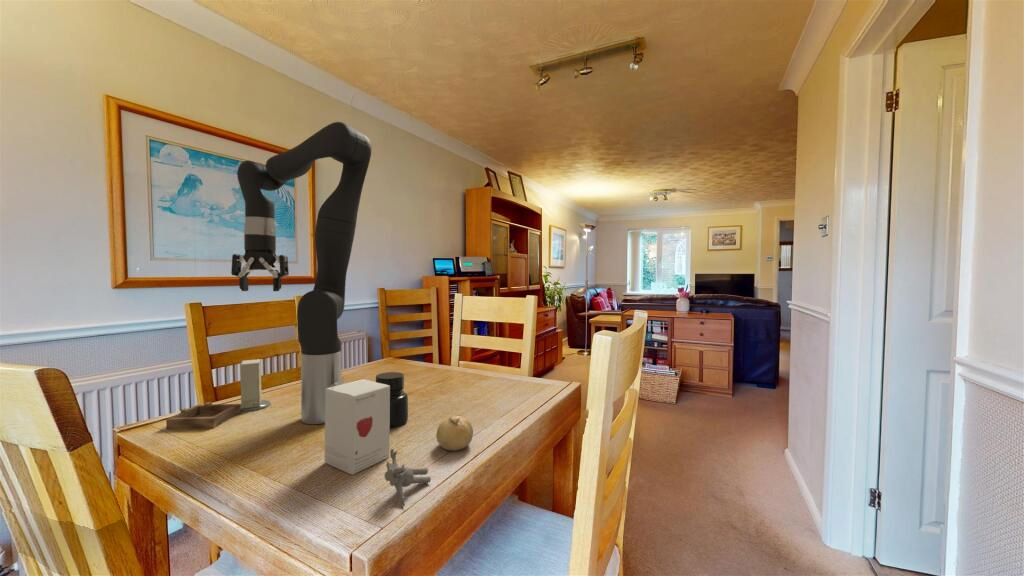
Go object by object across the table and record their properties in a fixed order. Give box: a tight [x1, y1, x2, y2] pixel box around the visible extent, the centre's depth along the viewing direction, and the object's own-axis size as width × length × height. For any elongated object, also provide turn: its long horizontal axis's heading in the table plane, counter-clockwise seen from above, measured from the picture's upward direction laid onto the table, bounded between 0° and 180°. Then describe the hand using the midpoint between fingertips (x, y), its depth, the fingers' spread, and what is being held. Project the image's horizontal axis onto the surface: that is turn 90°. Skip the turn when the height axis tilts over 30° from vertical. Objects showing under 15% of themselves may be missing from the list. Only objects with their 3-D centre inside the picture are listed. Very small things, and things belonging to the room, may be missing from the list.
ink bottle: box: [375, 371, 409, 429], centre depth 97 cm, size 10×9×12 cm
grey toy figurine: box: [384, 448, 432, 507], centre depth 66 cm, size 10×6×9 cm
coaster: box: [239, 399, 271, 413], centre depth 107 cm, size 8×8×1 cm
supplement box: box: [324, 378, 391, 476], centre depth 77 cm, size 9×9×15 cm
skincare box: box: [240, 358, 263, 409], centre depth 107 cm, size 6×4×12 cm
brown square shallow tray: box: [165, 401, 241, 430], centre depth 97 cm, size 10×10×3 cm
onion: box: [435, 415, 474, 451], centre depth 84 cm, size 8×8×7 cm
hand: (260, 291), depth 110 cm, fingers open, 8 cm apart
